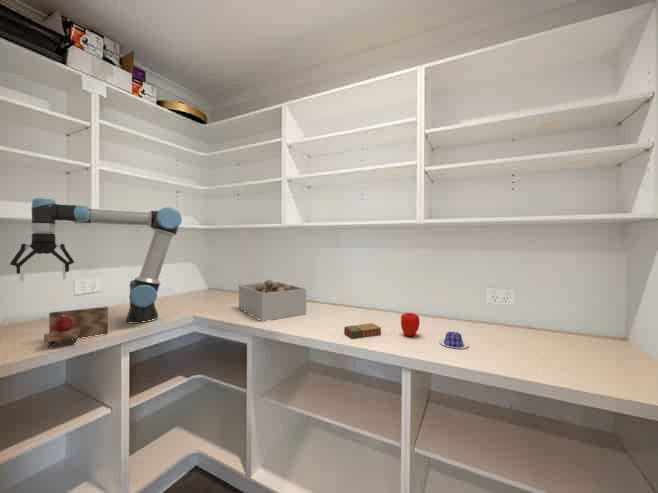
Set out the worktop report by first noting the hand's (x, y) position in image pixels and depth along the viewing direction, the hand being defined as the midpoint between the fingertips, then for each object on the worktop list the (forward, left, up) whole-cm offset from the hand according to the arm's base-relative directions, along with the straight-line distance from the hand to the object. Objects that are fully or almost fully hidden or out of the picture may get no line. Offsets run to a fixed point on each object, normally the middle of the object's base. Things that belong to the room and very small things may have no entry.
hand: (43, 280), depth 128 cm
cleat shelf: (-8, +14, -27) cm, 31 cm away
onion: (-8, +14, -22) cm, 28 cm away
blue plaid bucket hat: (-146, +113, -27) cm, 187 cm away
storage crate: (-106, +12, -27) cm, 110 cm away
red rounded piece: (-140, +94, -27) cm, 171 cm away
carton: (-122, +79, -27) cm, 148 cm away
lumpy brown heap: (-106, +12, -27) cm, 110 cm away
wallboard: (-13, +8, -27) cm, 31 cm away
